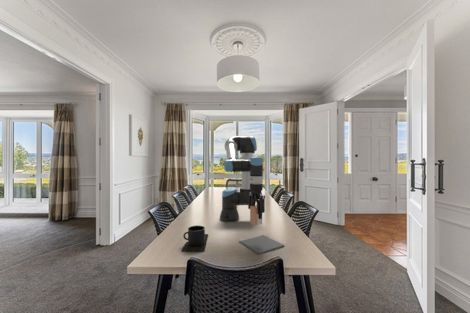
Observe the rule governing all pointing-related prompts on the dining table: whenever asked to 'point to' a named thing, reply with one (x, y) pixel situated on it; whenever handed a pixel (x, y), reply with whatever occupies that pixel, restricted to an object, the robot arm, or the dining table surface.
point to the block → (254, 215)
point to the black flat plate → (195, 249)
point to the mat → (261, 244)
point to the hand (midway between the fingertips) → (256, 222)
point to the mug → (195, 236)
